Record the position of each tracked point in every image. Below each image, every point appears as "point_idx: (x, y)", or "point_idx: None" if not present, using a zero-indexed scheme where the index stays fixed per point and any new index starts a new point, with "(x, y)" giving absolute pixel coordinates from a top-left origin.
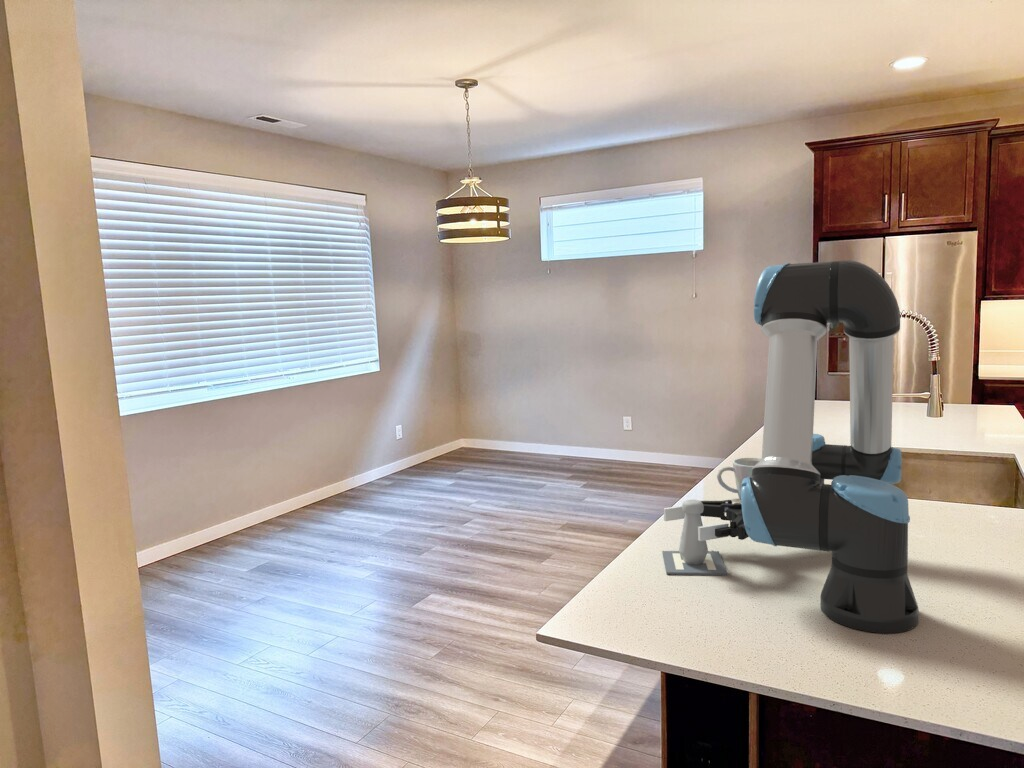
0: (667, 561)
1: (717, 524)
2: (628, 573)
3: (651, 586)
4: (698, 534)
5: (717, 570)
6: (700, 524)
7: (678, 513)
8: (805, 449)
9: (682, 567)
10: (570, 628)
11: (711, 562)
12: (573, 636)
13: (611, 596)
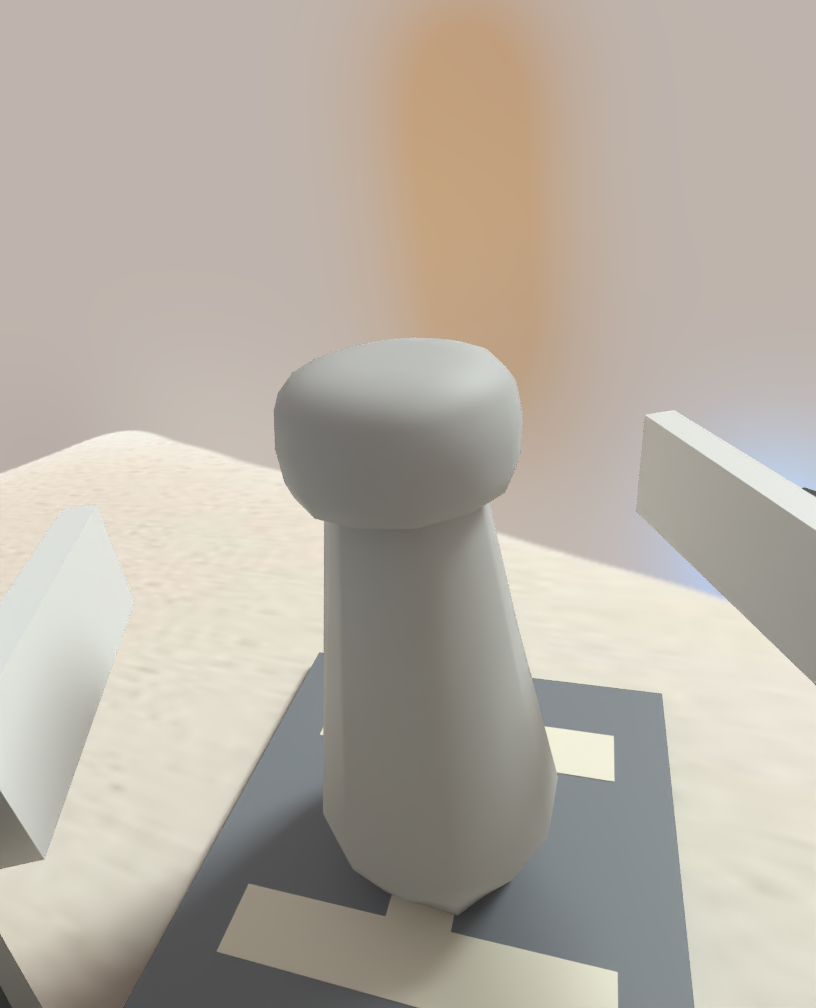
0: None
1: (4, 628)
2: None
3: (230, 596)
4: (113, 562)
5: (202, 957)
6: (339, 617)
7: (713, 527)
8: None
9: None
10: (111, 450)
11: (378, 973)
12: (73, 453)
13: (222, 506)
